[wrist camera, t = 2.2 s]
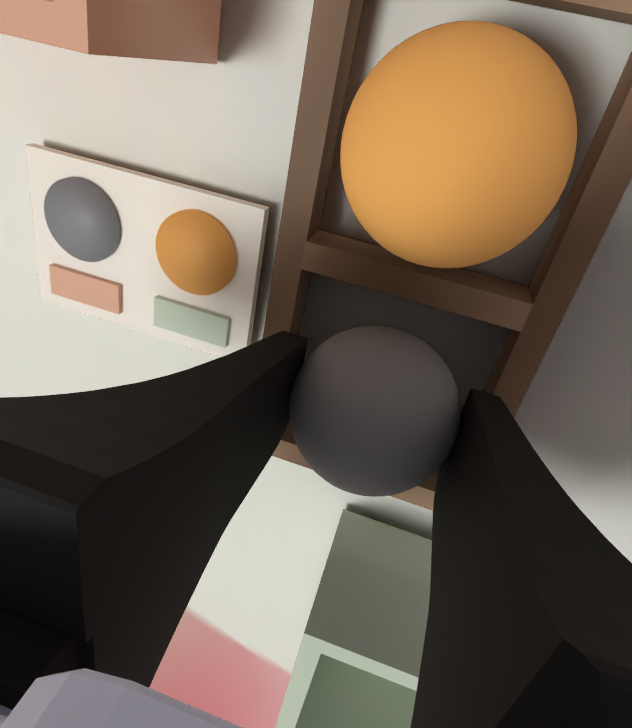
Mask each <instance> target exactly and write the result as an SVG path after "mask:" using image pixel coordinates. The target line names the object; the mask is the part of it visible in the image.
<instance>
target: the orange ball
mask: <svg viewBox="0 0 632 728" xmlns="http://www.w3.org/2000/svg"><path fill="white" fill-rule="evenodd" d="M576 143H577V119H576V112H575V107H574V102H573V98H572V95H571V92H570V90H569V87H568V84H567V82H566V80H565V78H564V76H563V74H562V73H561V71H560V69H559V68H558V66H557V65H556V64H555V62H554V61H553V60H552V58H551V57H550V56H549V55H548V54H547V53H546V52H545V51H544V50H543V49H542V48H541V47H540V46H539V45H538V44H537V43H535V42H534V41H532V40H531V39H530V38H528V37H527V36H525V35H524V34H522V33H519V32H517V31H515V30H513V29H511V28H509V27H506V26H502V25H499V24H495V23H491V22H483V21H457V22H451V23H446V24H441V25H438V26H435V27H432V28H429V29H426V30H423V31H421V32H419V33H417V34H415V35H413V36H411V37H409V38H408V39H406V40H405V41H403V42H402V43H400V44H399V45H397V46H396V47H395V48H393V49H392V50H391V51H390V52H389V53H388V54H387V55H385V56H384V57H383V58H382V59H381V60H380V61H379V62H378V64H377V65H376V66H375V67H374V68H373V69H372V70H371V71H370V73H369V74H368V76H367V77H366V79H365V80H364V81H363V83H362V84H361V86H360V88H359V90H358V92H357V93H356V95H355V97H354V99H353V101H352V104H351V107H350V109H349V112H348V114H347V118H346V122H345V125H344V129H343V134H342V141H341V154H340V164H341V174H342V180H343V185H344V189H345V193H346V195H347V198H348V201H349V204H350V206H351V208H352V210H353V212H354V214H355V216H356V218H357V219H358V221H359V222H360V223H361V225H362V226H363V228H364V229H365V230H366V231H367V232H368V234H369V235H370V236H371V237H372V238H373V239H374V240H375V241H376V242H378V243H379V244H380V245H381V246H382V247H383V248H385V249H386V250H388V251H389V252H391V253H392V254H394V255H396V256H398V257H400V258H402V259H404V260H407V261H409V262H412V263H415V264H418V265H423V266H428V267H435V268H460V267H466V266H472V265H476V264H479V263H482V262H486V261H489V260H491V259H493V258H496V257H498V256H500V255H502V254H504V253H506V252H507V251H509V250H511V249H513V248H514V247H516V246H517V245H518V244H520V243H521V242H522V241H524V240H525V239H526V238H527V237H529V236H530V235H531V234H532V233H533V232H534V231H535V230H536V229H537V228H538V227H539V226H540V225H541V224H542V222H543V221H544V220H545V219H546V218H547V216H548V215H549V214H550V212H551V211H552V209H553V208H554V206H555V205H556V203H557V202H558V200H559V198H560V196H561V194H562V192H563V190H564V188H565V186H566V184H567V181H568V178H569V175H570V172H571V170H572V166H573V161H574V157H575V152H576Z"/></svg>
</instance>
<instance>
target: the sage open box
mask: <svg viewBox="0 0 632 728" xmlns="http://www.w3.org/2000/svg"><path fill="white" fill-rule="evenodd" d="M431 553H432V540H430V539H427V538H424V537H421V536H419V535H416V534H413V533H410V532H407V531H404V530H401V529H399V528H396V527H393V526H390V525H387V524H384V523H381V522H379V521H376V520H373V519H370V518H367V517H364V516H361V515H359V514H356V513H353V512H350V511H347V510H344V509H343V512H342V515H341V518H340V521H339V525H338V528H337V531H336V534H335V537H334V540H333V543H332V547H331V550H330V553H329V556H328V559H327V562H326V566H325V569H324V572H323V575H322V578H321V581H320V585H319V588H318V591H317V594H316V597H315V600H314V603H313V607H312V610H311V613H310V616H309V619H308V622H307V626H306V629H305V632H304V635H303V638H302V642H301V645H300V648H299V651H298V655H297V658H296V661H295V665H294V668H293V671H292V674H291V678H290V681H289V685H288V687H287V691H286V694H285V697H284V701H283V704H282V707H281V710H280V714H279V717H278V720H277V723H276V727H275V728H410V727H411V721H412V716H413V710H414V704H415V697H416V691H417V685H418V678H419V672H420V666H421V660H422V653H423V646H424V639H425V632H426V625H427V618H428V610H429V598H430V580H431Z"/></svg>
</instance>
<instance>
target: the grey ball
mask: <svg viewBox="0 0 632 728" xmlns="http://www.w3.org/2000/svg"><path fill="white" fill-rule="evenodd" d="M289 416H290V425H291V430H292V433H293V437H294V440H295V443H296V445H297V447H298V449H299V451H300V453H301V454H302V456H303V457H304V459H305V461H306V462H307V463H308V464H309V466H310V467H311V468H312V469H313V470H314V471H315V472H316V473H317V474H318V475H319V476H321V477H322V478H323V479H325V480H326V481H327V482H329V483H330V484H332V485H334V486H335V487H337V488H339V489H342V490H344V491H347V492H350V493H353V494H357V495H362V496H389V495H395V494H399V493H402V492H404V491H407V490H410V489H412V488H414V487H416V486H418V485H420V484H421V483H423V482H424V481H426V480H427V479H428V478H429V477H431V476H432V475H433V474H434V473H435V472H436V471H437V470H438V469H439V468H440V467H441V465H442V464H443V463H444V462H445V460H446V459H447V458H448V456H449V454H450V452H451V450H452V448H453V446H454V443H455V441H456V438H457V435H458V431H459V425H460V419H461V405H460V397H459V392H458V389H457V385H456V382H455V380H454V377H453V375H452V373H451V371H450V369H449V367H448V366H447V364H446V363H445V362H444V360H443V359H442V358H441V356H440V355H439V354H438V353H437V352H436V351H435V350H434V349H433V348H432V347H431V346H430V345H429V344H427V343H426V342H425V341H423V340H422V339H420V338H419V337H417V336H415V335H413V334H411V333H409V332H406V331H403V330H401V329H397V328H393V327H389V326H380V325H367V326H360V327H355V328H351V329H348V330H345V331H342V332H340V333H338V334H335V335H334V336H332V337H330V338H329V339H327V340H326V341H324V342H323V343H322V344H320V345H319V346H318V347H317V348H315V350H314V351H313V352H312V353H311V354H310V355H309V356H308V357H307V359H306V360H305V361H304V363H303V364H302V366H301V367H300V370H299V372H298V374H297V376H296V378H295V380H294V383H293V387H292V391H291V395H290V403H289Z"/></svg>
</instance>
